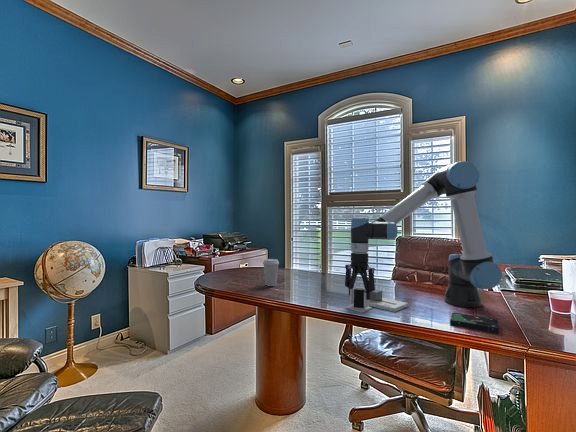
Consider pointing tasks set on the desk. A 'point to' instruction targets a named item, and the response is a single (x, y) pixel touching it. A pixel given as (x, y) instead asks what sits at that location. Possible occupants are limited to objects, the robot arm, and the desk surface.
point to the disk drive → (474, 323)
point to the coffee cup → (270, 271)
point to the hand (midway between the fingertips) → (359, 305)
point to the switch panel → (388, 304)
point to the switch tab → (376, 295)
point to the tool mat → (358, 308)
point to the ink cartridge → (359, 298)
